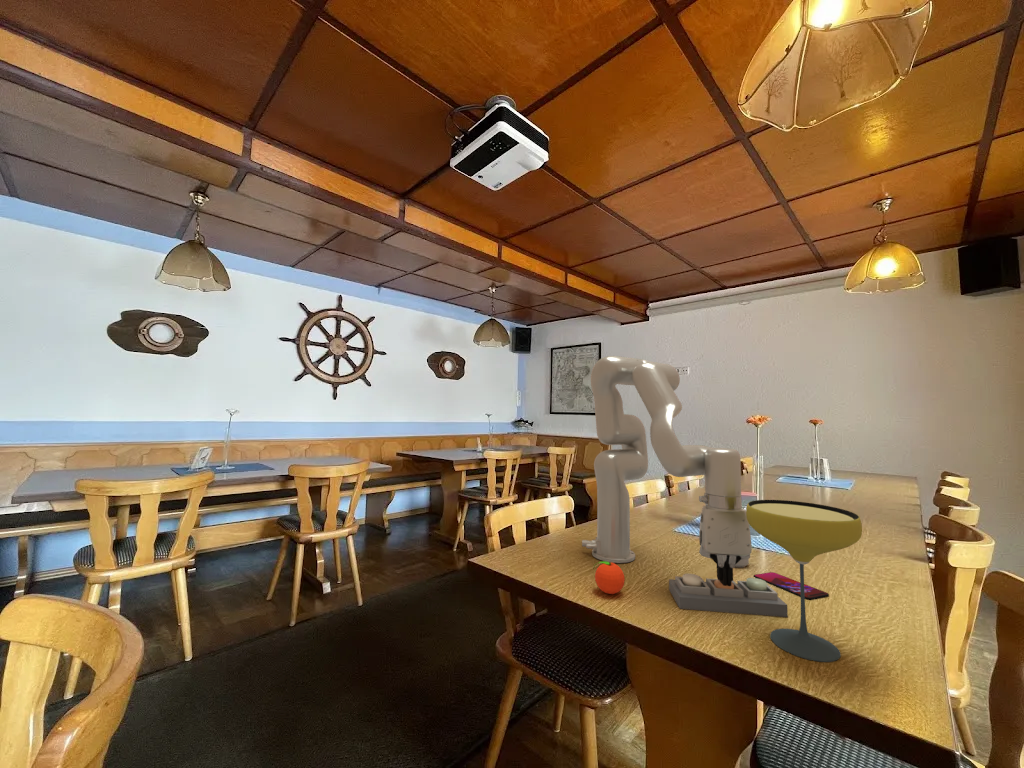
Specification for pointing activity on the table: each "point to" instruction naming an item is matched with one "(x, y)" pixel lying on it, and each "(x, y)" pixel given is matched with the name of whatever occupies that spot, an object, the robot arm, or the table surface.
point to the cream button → (692, 580)
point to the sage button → (756, 584)
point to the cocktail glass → (804, 556)
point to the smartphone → (791, 585)
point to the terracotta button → (720, 585)
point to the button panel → (727, 598)
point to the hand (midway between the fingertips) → (725, 583)
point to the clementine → (609, 577)
